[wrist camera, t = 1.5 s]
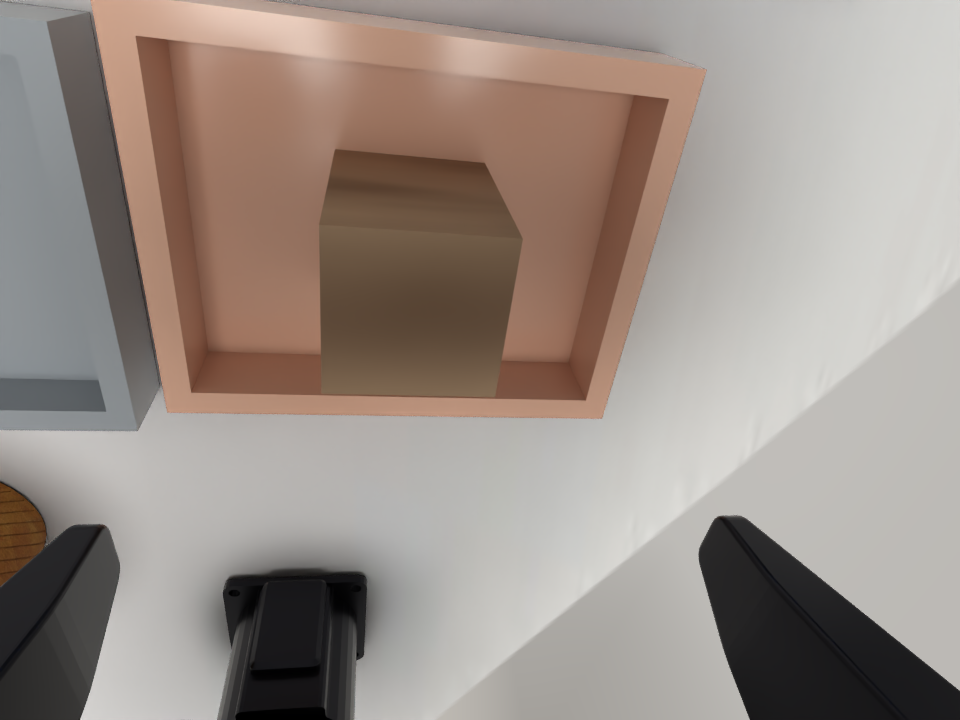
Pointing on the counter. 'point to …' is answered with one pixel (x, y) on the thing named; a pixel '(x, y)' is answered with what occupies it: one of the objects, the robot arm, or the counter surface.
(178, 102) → the dish
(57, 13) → the tray
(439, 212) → the block
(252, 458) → the counter surface
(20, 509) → the disposable coffee cup
